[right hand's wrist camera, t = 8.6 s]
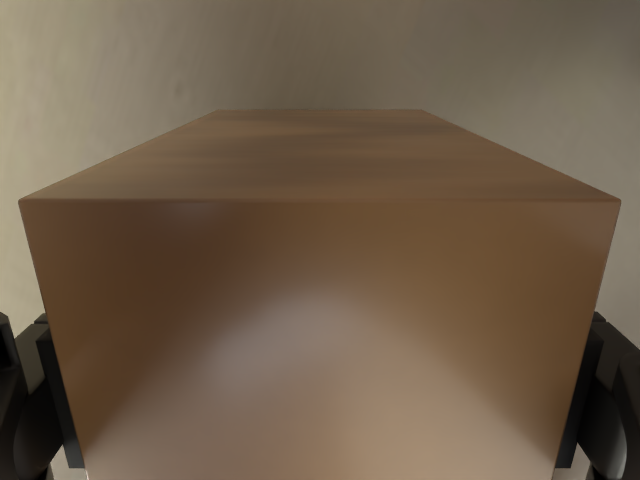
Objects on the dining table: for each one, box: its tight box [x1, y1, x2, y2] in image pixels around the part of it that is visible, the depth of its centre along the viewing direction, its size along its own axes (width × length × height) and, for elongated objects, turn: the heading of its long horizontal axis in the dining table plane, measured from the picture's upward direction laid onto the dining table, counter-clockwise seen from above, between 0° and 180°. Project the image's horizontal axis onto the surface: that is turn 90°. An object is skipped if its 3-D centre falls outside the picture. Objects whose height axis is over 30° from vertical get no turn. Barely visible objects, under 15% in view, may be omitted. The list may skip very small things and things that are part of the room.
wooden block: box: [18, 110, 621, 480], centre depth 13 cm, size 8×8×12 cm
